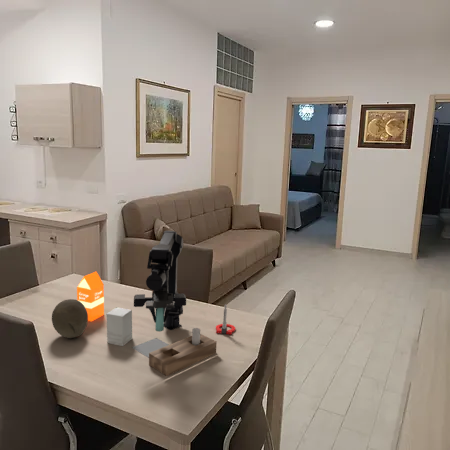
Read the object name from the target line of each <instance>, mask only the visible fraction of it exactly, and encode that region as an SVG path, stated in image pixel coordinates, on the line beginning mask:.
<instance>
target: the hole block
mask: <svg viewBox="0 0 450 450" xmlns="http://www.w3.org/2000/svg"><path fill="white" fill-rule="evenodd" d="M215 354H217V341H216V340H214V339H212V338H210V337H207V336H205V335H204V334H202V333H200V344H199V345H197V346H195V345H193V344H192V335H190V336H187V337H185V338H182V339H180V340H178V341H175V342H173V343H171V344H169V345H168V346H165V347H163V348H160V349H158V350H155V351H153V352H150V353H149V358H148V365H149V366H150V367H152V368H153V369H154V370H156V371H158V372H159V373H161V374H163V375H164V376H166V377H168V376H170V375H173V374H175V373H177V372H178V371H181V370H183V369H185V368H187V367H189V366H192V365H194V364H196V363H198V362H199V361H200V362H201V361H202V360H204V359H206V358H208V357H210V356H212V355H215Z"/></svg>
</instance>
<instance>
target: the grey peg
mask: <svg viewBox="0 0 450 450" xmlns="http://www.w3.org/2000/svg"><path fill="white" fill-rule="evenodd" d="M191 330H192V331H191V336H192V344H193V345H195V346H197V345H199V344H200V334H201V328H199V327H193V328H192V329H191Z"/></svg>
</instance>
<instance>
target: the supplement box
mask: <svg viewBox="0 0 450 450" xmlns="http://www.w3.org/2000/svg"><path fill="white" fill-rule="evenodd" d="M106 337H107V339H106V340H107V341H106V342H107V343H108V344H111V345H115V346H121V347H124V346H125V345H126V344H127V343H129V342H130V341H131V340H132V339H133V310H132V309H129V308H123V307H119V306H118V307H115V308H113V309H112V310H110V311H109V312H106Z"/></svg>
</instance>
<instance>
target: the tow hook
mask: <svg viewBox="0 0 450 450" xmlns="http://www.w3.org/2000/svg"><path fill="white" fill-rule="evenodd" d="M227 313H228V309H227V304H224V308H223V322H222V323H220V324H217V325H216V326H215V330H216V331H215V333H216V334H221V335H232V334H233V333H234V332H235V331H236V327H235V326H234V325H232V324H229V323H227ZM228 328H230V329H228Z"/></svg>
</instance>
